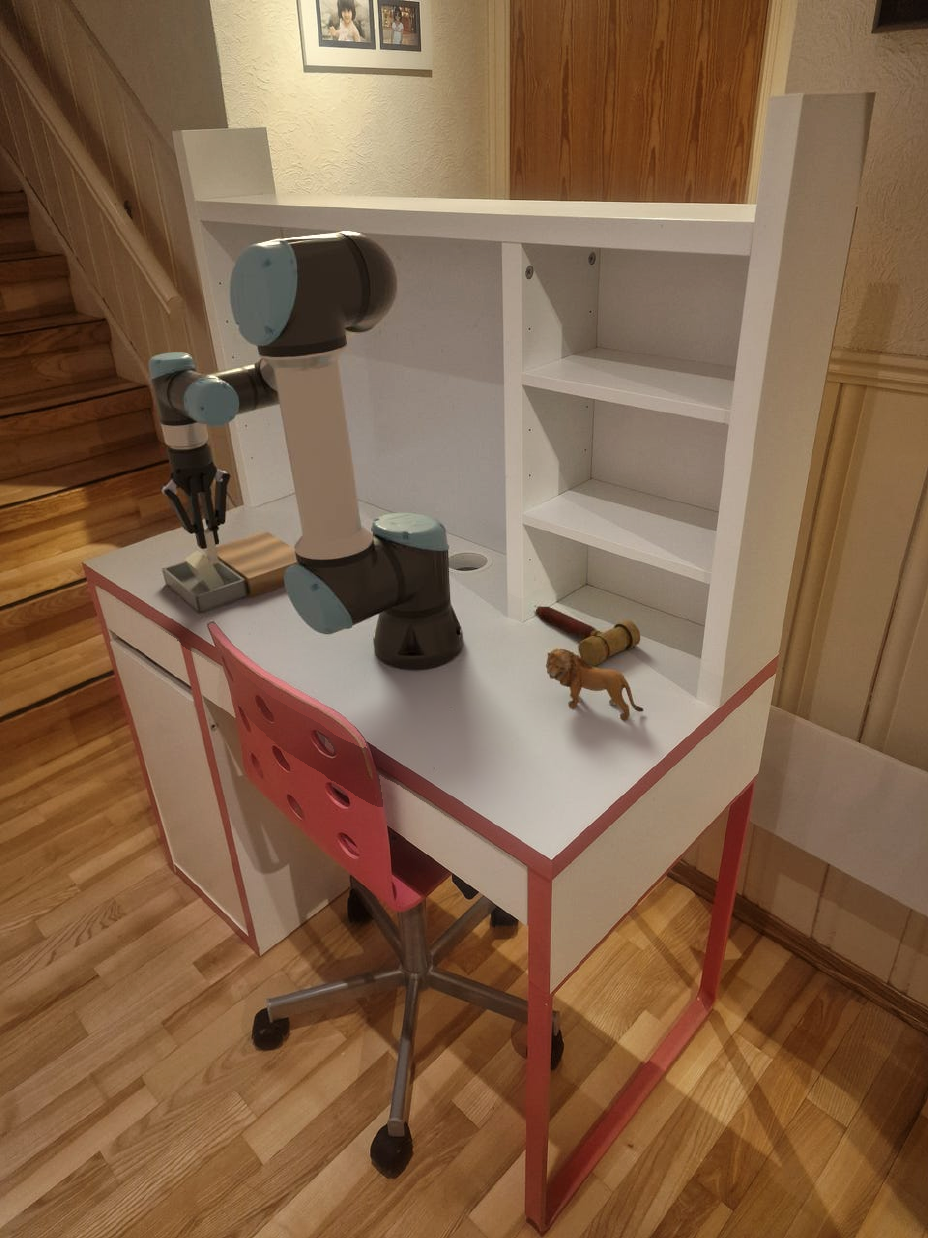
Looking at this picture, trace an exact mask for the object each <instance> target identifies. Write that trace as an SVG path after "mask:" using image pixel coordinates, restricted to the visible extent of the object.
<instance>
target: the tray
mask: <svg viewBox="0 0 928 1238" xmlns="http://www.w3.org/2000/svg"><path fill="white" fill-rule="evenodd" d="M203 555H204V556H205V554H203ZM213 566H214V567H215V569H216V571H217V572H218V574H219V575H220V577H221V579H222V580H223V582H224V583H225V584H224V585H223V586H221V587H219V588H216V589H213V590H211V591H209V590H208V589H207V588H205V587H204V586H203V585H202V584H201V583H199V581H198V580H197V578H196V577H195V575H194V574H193V572H192V571H191V569H190V567H189V566H188V564H187V563H186V561H185V560H184V561H181V562H178V563H175V564H172V565H168V566H167V567H163V568H161V570H162V574H163V579H164V582H165V585H166V586H167V587H168V588H169V589H170V590H172V591H173V592H174V593H175V594H176V595H177V596H179V597H180V599H182V600H183V601H184V602H186V603H187V605H189V606H190V607H191V608H192V609H193V610H195V611H196V612H197V614H203V613H205V612H208V611H211V610H213V609H216V608H218V607H222V606H224V605H226V604H229V603H232V602H237V601H239V600H241V599H244V598H247V597H249V594H248V591H247V585H246V580H245V579H244V578H242V577H241V576H240V575H238V574H237V573H236V572H234V571H233V570H232V569H230V568H229V567H228V566H226V565H225V564H224V563H222V562H221V561H219V563H216V564H213Z"/></svg>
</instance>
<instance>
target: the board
mask: <svg viewBox="0 0 928 1238" xmlns="http://www.w3.org/2000/svg"><path fill="white" fill-rule="evenodd" d="M216 551H217V556H218V560H219V561H221V562H222V563H224V564H225V565H226V566H228V567H229V568H230V569H232V570H233V571H234V572H236V573H237V574H238V575H240V576H241V577H242V578H244V579H245V580H246V585H247V591H248V596H250V597H251V598H255V597H257V596H260V595H262V594H266V593H268V592H271V591H274V590H276V589H279V588H282V587H285V583H284V575H285V571H286V570H287V568H289V567H290V565H293V564H297V560H296V554H295V548H294V547H293V546H291V545H289V543H287V542H285V541H283V540H282V539H280V538H278V537H277V536H275V535H274V534H272V533H271V532H269V531H267V530H265V531H261V532H258V533H256V534H252V535H248V536H245V537H242V538H239V539H235V540H234V541H230V542H226V543H223V544H221V545H217V546H216ZM270 590H271V591H270ZM267 591H268V592H267ZM265 592H266V593H265Z"/></svg>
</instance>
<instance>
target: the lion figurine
mask: <svg viewBox="0 0 928 1238" xmlns="http://www.w3.org/2000/svg"><path fill="white" fill-rule="evenodd" d="M545 667H546V670H547V671H546V672H547V675H549V679H552V680H556V681H559V684H560V685H561V686H563V687H567V688H569V690H570V694H569V696H570V697H571V698H572V700H570V701H569V702H568V703H567V704H568V707H570V708H571V709H572V708H576V707H577V706H578V705H579V703H580V700H579V699H580V698H579V696H580V694H581V691H582V689H585V690H589V691H593V692H601V691H602V692H603V691H604V690H606V692H607V694H608V695H609V697H610V699H609V701H608V703H609V705H611V706H618V708H620V709H621V710H622V711H623V712H621V713H620V714H619V716H620V719H621V720H624V721H626V720H627V719H629V718H630V715H631V714H630V707H629V705H628V704H627V702H625V700H624V697H623V690H624V688H625V690H626V691H625V692H626V693H627V694H626V695H627V696H628V700H629V703H630V705H631V707H632V708H633V709H634V710H635V711H637V712H638V713H639V712H641V713H642V712H644V708H642V707H640V706H638V705H636V704H635V701H634V698H633V695H632V691H631V687H630V684H629V683H628V680H627V679H626V678H625V675H623V674H622V673H621V672H620V671H618V670H616V669H605V668H599V667H596V666H590V665H588V664H587V662H586V661H585V660H584V659H582V658H581V657H580V655H579V654H576V653H574V652H573V651H570V650H568V649H566V648H565V649H563V648H554V649H552V650H551V651H550V652H547V658H546V665H545Z"/></svg>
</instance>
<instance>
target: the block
mask: <svg viewBox="0 0 928 1238" xmlns="http://www.w3.org/2000/svg"><path fill="white" fill-rule="evenodd" d="M204 555H205V554H203V553H201V552H200V551H199V550H195V551H194V552H192V553H191V554H189V555H188V556H187V557H185V558H184V559H183V560H184V561H186V563H187V564H188V566H189V567H190V569H191V571H192V572H193V574H194V575H195V577H196V578H197V580H198V581H199V583H201V584H202V585H203V586H204V587H205V588H207V589H208V590H209V591H211V590H213V589H216V588H219V587H221V586H223V585H224V584H225V583H224V582H223V580H222V579H221V577H220V575H219V574H218V572H217V571H216V569H215V567H214V566H213V564H212V563H211V561H210V560H209V559H208V558H206V557H205V556H204Z"/></svg>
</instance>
